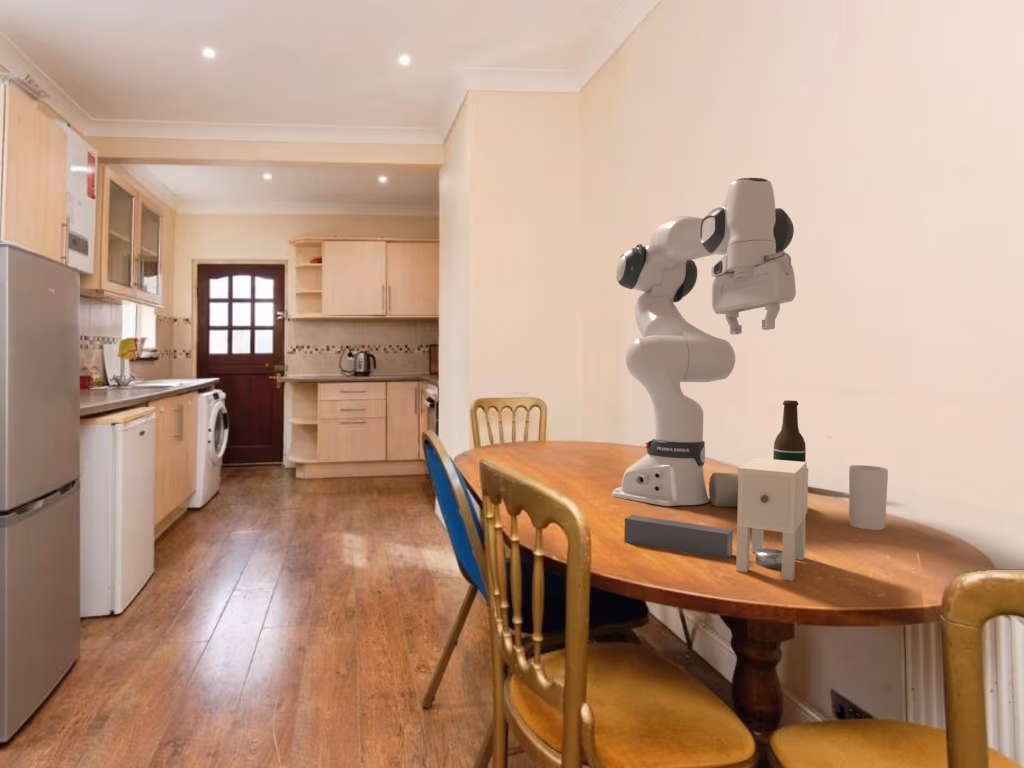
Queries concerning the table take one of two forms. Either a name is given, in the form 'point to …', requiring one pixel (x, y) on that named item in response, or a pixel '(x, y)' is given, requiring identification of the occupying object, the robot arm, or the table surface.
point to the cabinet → (772, 509)
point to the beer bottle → (790, 436)
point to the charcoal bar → (679, 536)
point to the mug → (867, 496)
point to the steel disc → (769, 558)
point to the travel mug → (724, 489)
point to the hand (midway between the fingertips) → (751, 331)
